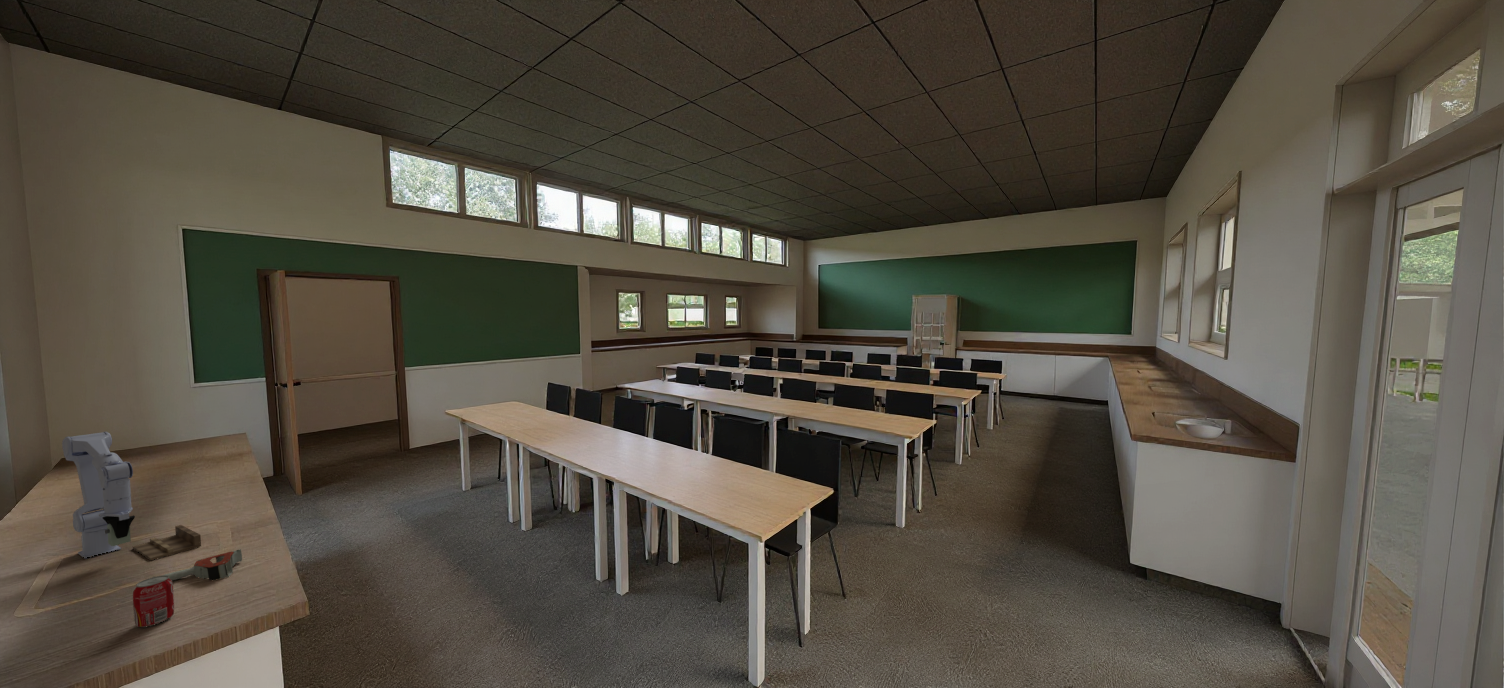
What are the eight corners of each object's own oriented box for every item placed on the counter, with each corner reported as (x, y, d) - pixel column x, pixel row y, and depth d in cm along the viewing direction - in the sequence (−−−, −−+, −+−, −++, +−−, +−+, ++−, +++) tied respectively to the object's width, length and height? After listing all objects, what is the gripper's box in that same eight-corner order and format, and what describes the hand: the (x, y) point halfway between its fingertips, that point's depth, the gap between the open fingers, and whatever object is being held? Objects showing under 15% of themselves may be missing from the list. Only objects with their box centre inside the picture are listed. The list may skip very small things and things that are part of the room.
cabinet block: (104, 544, 164) (103, 525, 164) (127, 538, 169) (125, 519, 168) (108, 547, 162) (106, 527, 162) (130, 541, 167) (129, 522, 166)
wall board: (132, 549, 176) (131, 537, 175) (181, 535, 186) (181, 524, 186) (150, 560, 167) (150, 548, 167) (201, 546, 178) (200, 534, 177)
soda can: (156, 614, 136) (153, 574, 136) (182, 613, 137) (180, 573, 136) (125, 630, 129) (123, 588, 129) (154, 629, 130) (151, 587, 129)
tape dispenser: (145, 592, 151) (197, 592, 148) (142, 576, 150) (194, 576, 148) (214, 561, 168) (261, 561, 166) (211, 547, 168) (259, 547, 165)
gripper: (92, 498, 165) (95, 536, 166) (103, 505, 158) (106, 545, 159) (125, 492, 171) (127, 528, 172) (137, 498, 165) (140, 536, 165)
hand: (119, 535), depth 166 cm, fingers closed on cabinet block, 4 cm apart
